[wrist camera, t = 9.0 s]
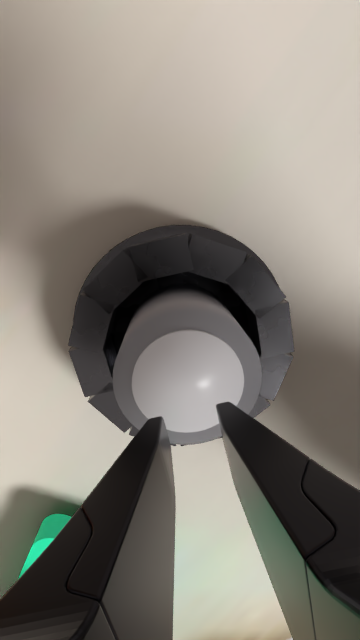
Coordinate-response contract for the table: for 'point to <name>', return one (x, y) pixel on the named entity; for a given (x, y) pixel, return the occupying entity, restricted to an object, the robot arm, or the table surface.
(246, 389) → the cap
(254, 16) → the table surface
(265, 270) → the dark grey ashtray
